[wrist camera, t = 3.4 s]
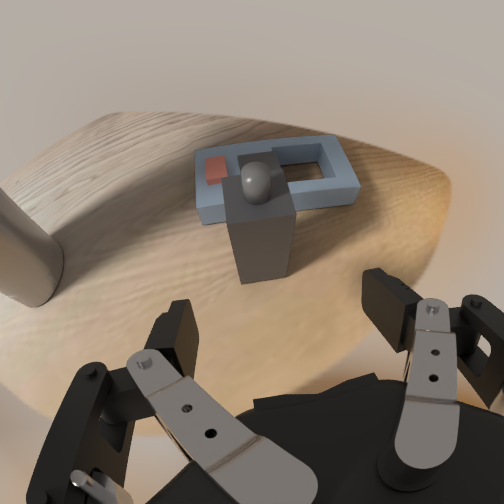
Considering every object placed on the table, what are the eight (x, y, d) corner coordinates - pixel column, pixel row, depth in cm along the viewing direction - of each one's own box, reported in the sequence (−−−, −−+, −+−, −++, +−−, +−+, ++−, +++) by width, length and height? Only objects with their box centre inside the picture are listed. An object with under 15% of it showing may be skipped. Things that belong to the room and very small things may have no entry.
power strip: (202, 225, 27) (194, 203, 24) (199, 168, 31) (193, 145, 27) (353, 203, 28) (363, 181, 24) (330, 152, 31) (335, 129, 28)
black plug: (241, 284, 24) (221, 203, 14) (236, 248, 26) (216, 155, 15) (285, 277, 24) (300, 192, 14) (278, 242, 26) (284, 146, 15)
